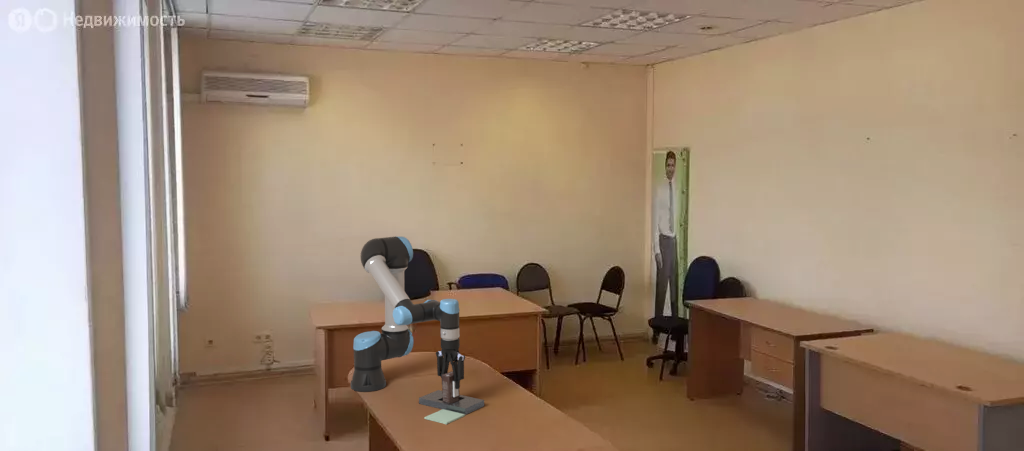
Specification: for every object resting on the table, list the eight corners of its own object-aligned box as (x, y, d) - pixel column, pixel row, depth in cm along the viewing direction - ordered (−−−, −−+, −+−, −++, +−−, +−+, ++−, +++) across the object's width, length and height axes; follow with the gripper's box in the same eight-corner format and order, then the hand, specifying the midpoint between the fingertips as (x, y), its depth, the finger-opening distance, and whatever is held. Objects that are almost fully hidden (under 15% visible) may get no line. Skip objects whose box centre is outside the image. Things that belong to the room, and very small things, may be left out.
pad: (424, 418, 285) (424, 417, 285) (443, 410, 294) (442, 409, 294) (446, 424, 279) (446, 422, 279) (464, 415, 288) (464, 414, 288)
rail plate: (419, 403, 302) (418, 397, 302) (438, 395, 312) (438, 389, 312) (465, 414, 289) (465, 408, 288) (484, 406, 299) (484, 400, 298)
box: (451, 399, 304) (451, 370, 303) (459, 402, 302) (460, 373, 300) (441, 403, 300) (441, 374, 298) (449, 406, 297) (449, 376, 296)
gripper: (427, 337, 300) (428, 393, 302) (461, 343, 290) (462, 401, 292) (439, 333, 306) (440, 388, 308) (473, 339, 296) (473, 396, 298)
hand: (450, 394), depth 300 cm, fingers closed on box, 4 cm apart
